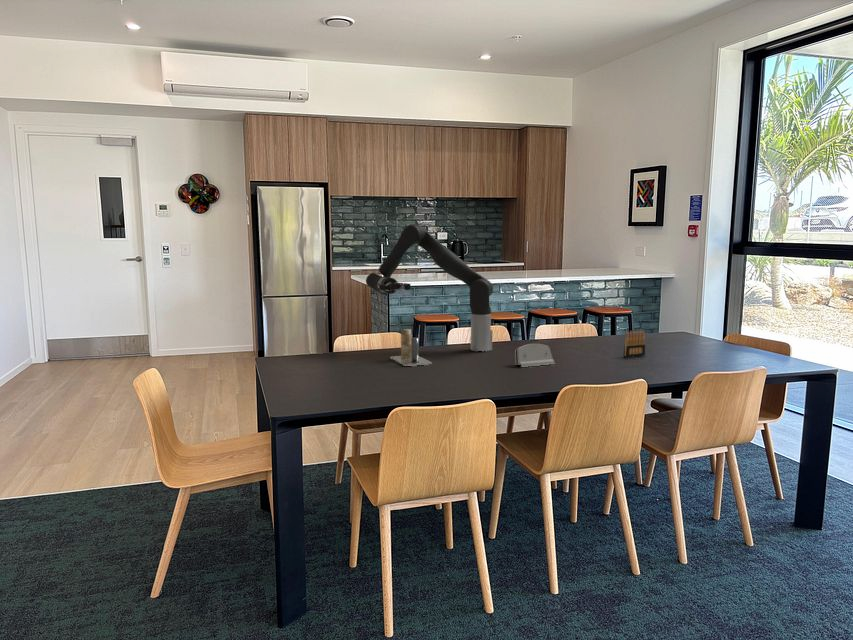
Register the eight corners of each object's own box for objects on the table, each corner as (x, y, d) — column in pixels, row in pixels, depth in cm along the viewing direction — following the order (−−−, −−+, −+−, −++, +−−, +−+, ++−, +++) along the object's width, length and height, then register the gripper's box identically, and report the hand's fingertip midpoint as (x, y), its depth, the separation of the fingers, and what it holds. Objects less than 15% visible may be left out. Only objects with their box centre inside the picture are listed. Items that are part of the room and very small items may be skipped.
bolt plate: (415, 356, 277) (415, 332, 275) (431, 364, 260) (432, 338, 259) (390, 358, 272) (390, 334, 270) (405, 367, 256) (405, 340, 254)
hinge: (521, 368, 254) (517, 344, 256) (515, 369, 259) (511, 346, 260) (555, 364, 260) (551, 341, 262) (549, 366, 265) (545, 343, 267)
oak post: (409, 355, 273) (409, 328, 272) (412, 357, 269) (412, 330, 268) (399, 356, 272) (399, 329, 270) (403, 358, 268) (403, 330, 266)
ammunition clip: (626, 357, 276) (627, 330, 275) (623, 356, 278) (624, 330, 276) (645, 355, 280) (646, 329, 279) (642, 355, 282) (643, 328, 280)
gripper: (373, 277, 291) (384, 280, 276) (401, 276, 296) (414, 279, 281) (373, 293, 292) (384, 297, 277) (401, 292, 297) (414, 295, 282)
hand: (399, 288), depth 279 cm, fingers open, 8 cm apart
